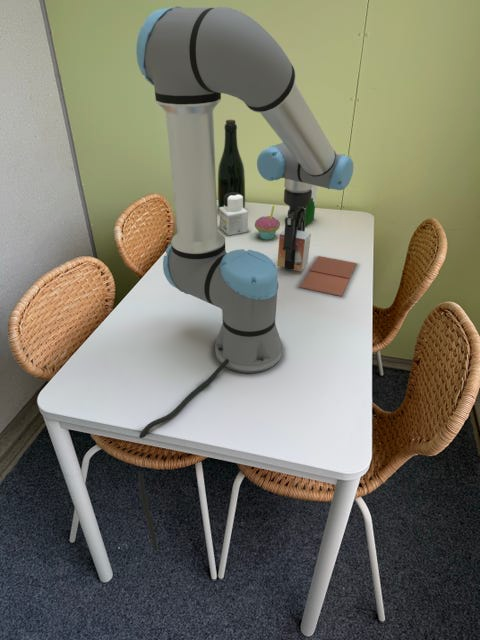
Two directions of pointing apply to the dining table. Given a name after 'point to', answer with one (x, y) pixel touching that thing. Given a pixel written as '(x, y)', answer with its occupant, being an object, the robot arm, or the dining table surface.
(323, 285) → the napkin
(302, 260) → the small box
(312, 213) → the milk carton
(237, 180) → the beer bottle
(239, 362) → the robot arm
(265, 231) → the cupcake
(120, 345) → the dining table surface
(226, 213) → the container
